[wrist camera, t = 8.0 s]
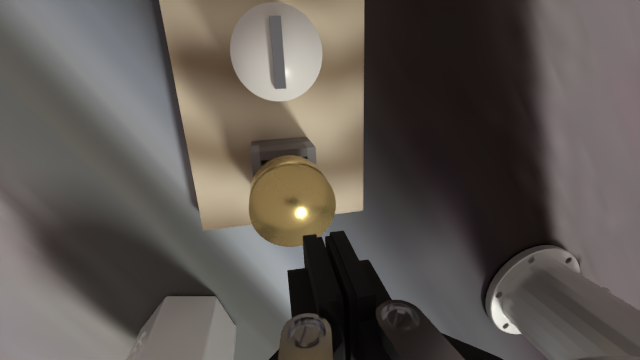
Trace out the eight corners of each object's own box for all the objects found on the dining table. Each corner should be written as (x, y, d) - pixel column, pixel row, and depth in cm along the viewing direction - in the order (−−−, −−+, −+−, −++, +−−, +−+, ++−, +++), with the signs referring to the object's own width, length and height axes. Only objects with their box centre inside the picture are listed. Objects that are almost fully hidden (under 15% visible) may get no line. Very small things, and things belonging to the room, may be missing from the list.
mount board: (136, -162, 18) (82, -268, 13) (355, -143, 21) (391, -226, 15) (207, 219, 27) (193, 256, 21) (356, 202, 29) (379, 231, 24)
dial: (233, 23, 21) (222, 0, 15) (304, 22, 21) (322, 0, 15) (242, 97, 22) (236, 104, 16) (308, 94, 23) (325, 99, 17)
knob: (248, 139, 23) (243, 170, 15) (309, 135, 24) (334, 162, 16) (255, 197, 25) (254, 252, 17) (312, 190, 25) (336, 240, 18)
